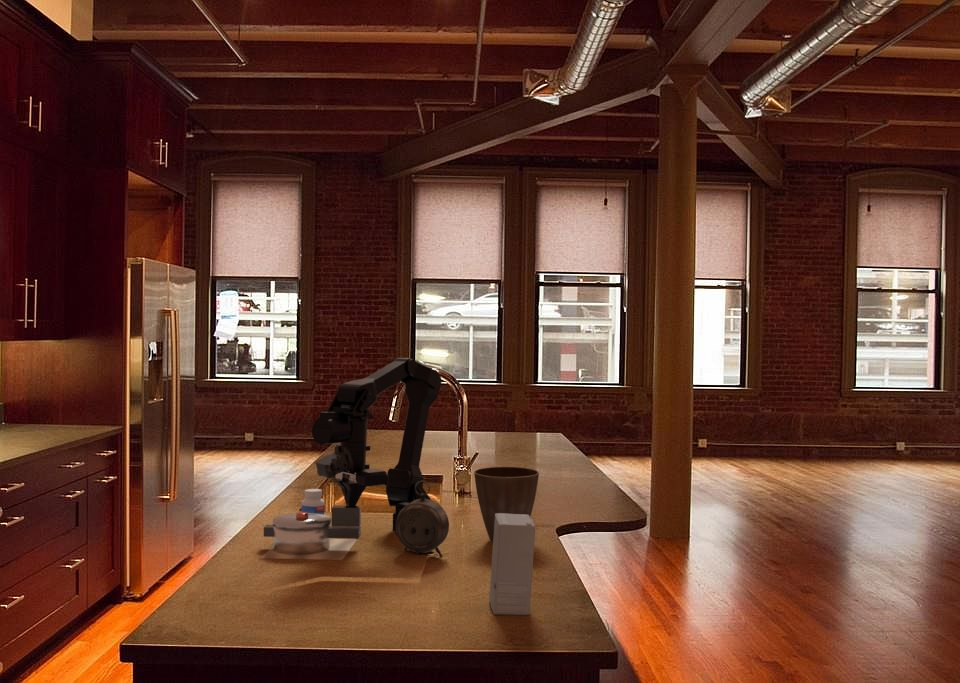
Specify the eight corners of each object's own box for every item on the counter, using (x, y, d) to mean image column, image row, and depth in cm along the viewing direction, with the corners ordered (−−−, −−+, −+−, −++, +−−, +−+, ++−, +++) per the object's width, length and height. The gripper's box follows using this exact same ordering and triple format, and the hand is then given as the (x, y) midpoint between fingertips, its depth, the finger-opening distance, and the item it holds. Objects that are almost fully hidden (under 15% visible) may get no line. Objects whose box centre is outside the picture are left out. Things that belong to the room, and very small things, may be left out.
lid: (267, 531, 185) (267, 511, 185) (278, 518, 198) (279, 500, 198) (356, 531, 186) (357, 512, 186) (363, 519, 198) (363, 501, 198)
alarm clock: (449, 555, 190) (450, 480, 190) (441, 562, 185) (442, 484, 185) (401, 551, 193) (402, 477, 193) (392, 557, 188) (393, 481, 188)
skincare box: (488, 601, 158) (489, 512, 158) (528, 600, 159) (529, 512, 159) (493, 616, 150) (494, 522, 150) (535, 615, 150) (536, 522, 150)
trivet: (357, 542, 200) (357, 539, 200) (342, 563, 182) (342, 559, 182) (282, 541, 201) (282, 537, 201) (260, 561, 183) (260, 557, 183)
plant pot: (508, 552, 194) (509, 479, 194) (459, 540, 204) (460, 471, 204) (551, 541, 205) (552, 471, 205) (502, 530, 215) (503, 464, 215)
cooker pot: (257, 554, 186) (257, 530, 186) (272, 540, 198) (272, 518, 198) (354, 556, 185) (355, 532, 185) (363, 542, 197) (364, 520, 197)
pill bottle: (318, 534, 208) (319, 492, 208) (297, 532, 210) (297, 491, 209) (327, 529, 214) (328, 488, 214) (306, 527, 215) (307, 487, 215)
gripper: (298, 437, 195) (295, 508, 195) (348, 448, 182) (345, 524, 182) (339, 434, 203) (336, 502, 203) (391, 445, 190) (388, 518, 190)
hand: (350, 511), depth 194 cm, fingers closed
